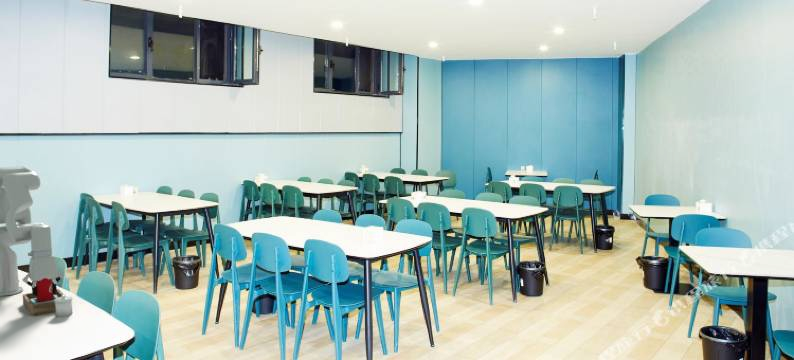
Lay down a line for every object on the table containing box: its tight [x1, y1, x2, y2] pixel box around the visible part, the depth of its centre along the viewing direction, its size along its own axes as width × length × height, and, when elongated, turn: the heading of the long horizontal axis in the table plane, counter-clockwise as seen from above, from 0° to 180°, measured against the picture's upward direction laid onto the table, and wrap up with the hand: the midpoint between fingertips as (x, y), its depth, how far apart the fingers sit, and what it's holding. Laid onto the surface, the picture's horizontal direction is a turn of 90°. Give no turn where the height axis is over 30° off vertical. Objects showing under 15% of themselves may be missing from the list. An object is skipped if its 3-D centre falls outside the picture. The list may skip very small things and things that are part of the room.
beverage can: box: [35, 278, 53, 303], centre depth 258 cm, size 6×6×12 cm
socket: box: [30, 295, 59, 305], centre depth 258 cm, size 10×10×2 cm
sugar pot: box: [54, 294, 73, 318], centre depth 247 cm, size 7×7×8 cm
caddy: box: [22, 288, 66, 317], centre depth 258 cm, size 22×14×4 cm, turn 40°
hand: (44, 293), depth 258 cm, fingers open, 6 cm apart
